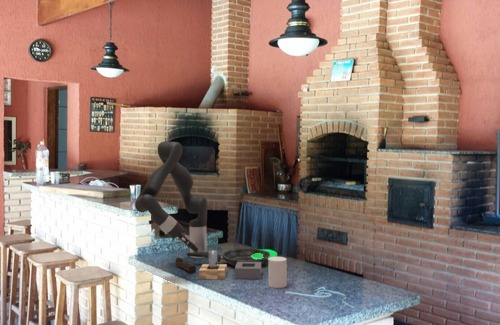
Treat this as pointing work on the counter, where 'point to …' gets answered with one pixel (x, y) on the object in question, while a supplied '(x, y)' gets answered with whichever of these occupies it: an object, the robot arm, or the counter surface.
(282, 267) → the cup
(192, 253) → the frying pan
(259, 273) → the holder block
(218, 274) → the square frame block
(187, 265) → the hand tool
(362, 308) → the counter surface
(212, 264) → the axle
